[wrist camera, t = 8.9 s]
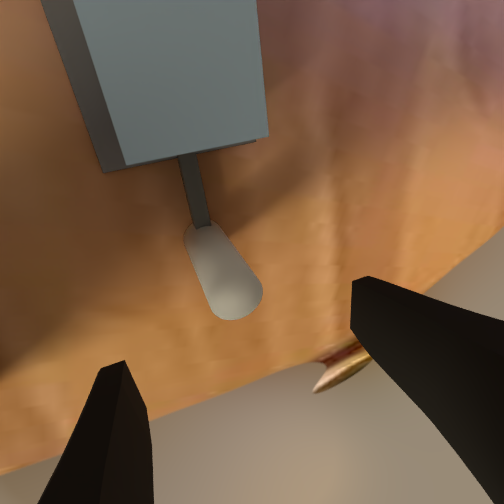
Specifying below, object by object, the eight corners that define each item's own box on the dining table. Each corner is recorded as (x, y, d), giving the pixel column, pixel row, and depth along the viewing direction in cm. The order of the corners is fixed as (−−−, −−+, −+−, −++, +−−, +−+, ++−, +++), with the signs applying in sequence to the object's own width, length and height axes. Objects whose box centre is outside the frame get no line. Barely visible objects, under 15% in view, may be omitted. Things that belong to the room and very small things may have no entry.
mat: (254, 141, 17) (256, 141, 16) (103, 172, 15) (103, 173, 14) (234, -34, 13) (235, -35, 13) (33, -22, 11) (31, -24, 11)
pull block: (248, 243, 19) (295, 299, 14) (163, 267, 17) (181, 339, 12) (210, -5, 13) (268, -67, 8) (81, 5, 12) (50, -60, 7)
